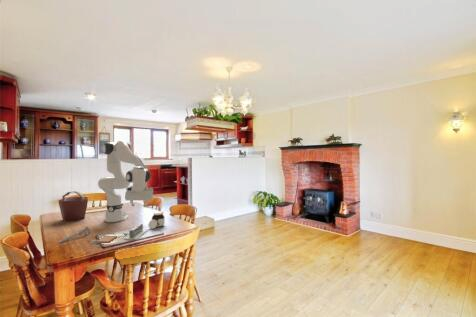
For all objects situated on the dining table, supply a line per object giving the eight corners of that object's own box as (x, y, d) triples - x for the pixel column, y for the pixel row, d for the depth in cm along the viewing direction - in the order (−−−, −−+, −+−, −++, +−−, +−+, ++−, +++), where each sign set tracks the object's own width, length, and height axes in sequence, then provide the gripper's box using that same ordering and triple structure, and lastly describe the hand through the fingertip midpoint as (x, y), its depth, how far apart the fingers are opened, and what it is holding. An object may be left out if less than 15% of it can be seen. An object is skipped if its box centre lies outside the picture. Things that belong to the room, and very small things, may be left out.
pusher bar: (138, 230, 182) (138, 223, 182) (142, 230, 182) (142, 223, 182) (129, 237, 166) (129, 230, 166) (133, 237, 166) (133, 230, 166)
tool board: (136, 230, 184) (136, 229, 184) (147, 230, 184) (147, 229, 184) (123, 240, 164) (123, 238, 164) (136, 240, 164) (136, 238, 164)
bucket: (55, 219, 217) (55, 192, 216) (82, 214, 235) (82, 189, 234) (66, 223, 203) (66, 194, 202) (94, 218, 221) (93, 191, 220)
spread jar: (165, 224, 201) (165, 211, 200) (163, 228, 189) (163, 214, 189) (150, 225, 198) (150, 211, 198) (147, 229, 187) (147, 215, 187)
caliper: (88, 234, 177) (88, 225, 177) (89, 234, 176) (89, 226, 176) (57, 243, 158) (57, 234, 158) (58, 243, 158) (58, 234, 158)
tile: (105, 235, 167) (96, 241, 157) (116, 235, 167) (108, 241, 157) (105, 238, 167) (96, 243, 157) (116, 238, 167) (108, 243, 157)
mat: (107, 233, 177) (107, 233, 177) (128, 233, 177) (128, 233, 177) (88, 245, 155) (88, 244, 155) (113, 245, 155) (113, 244, 155)
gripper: (154, 187, 181) (154, 205, 182) (127, 187, 181) (127, 205, 182) (151, 188, 175) (151, 207, 175) (123, 188, 175) (124, 207, 175)
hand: (139, 206), depth 179 cm, fingers open, 8 cm apart
